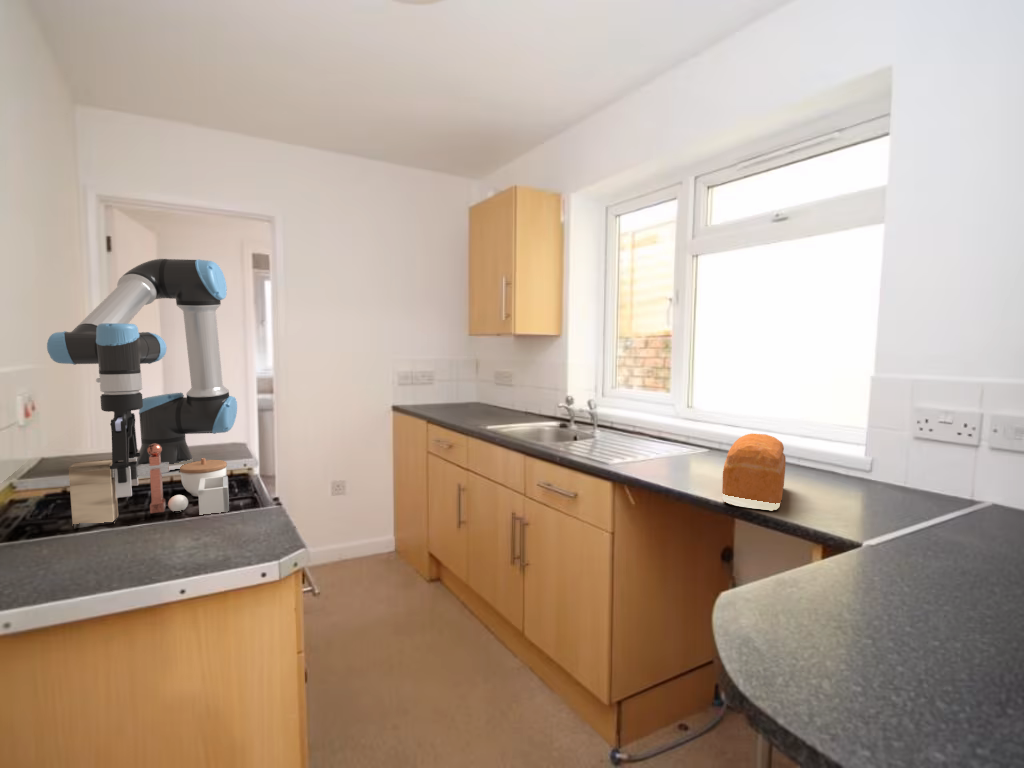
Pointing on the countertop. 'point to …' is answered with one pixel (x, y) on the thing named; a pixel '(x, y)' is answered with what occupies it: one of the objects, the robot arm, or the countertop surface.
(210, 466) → the lidded jar
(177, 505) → the white egg
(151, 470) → the post with horizontal bar
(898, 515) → the countertop surface
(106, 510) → the paper bag
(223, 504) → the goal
